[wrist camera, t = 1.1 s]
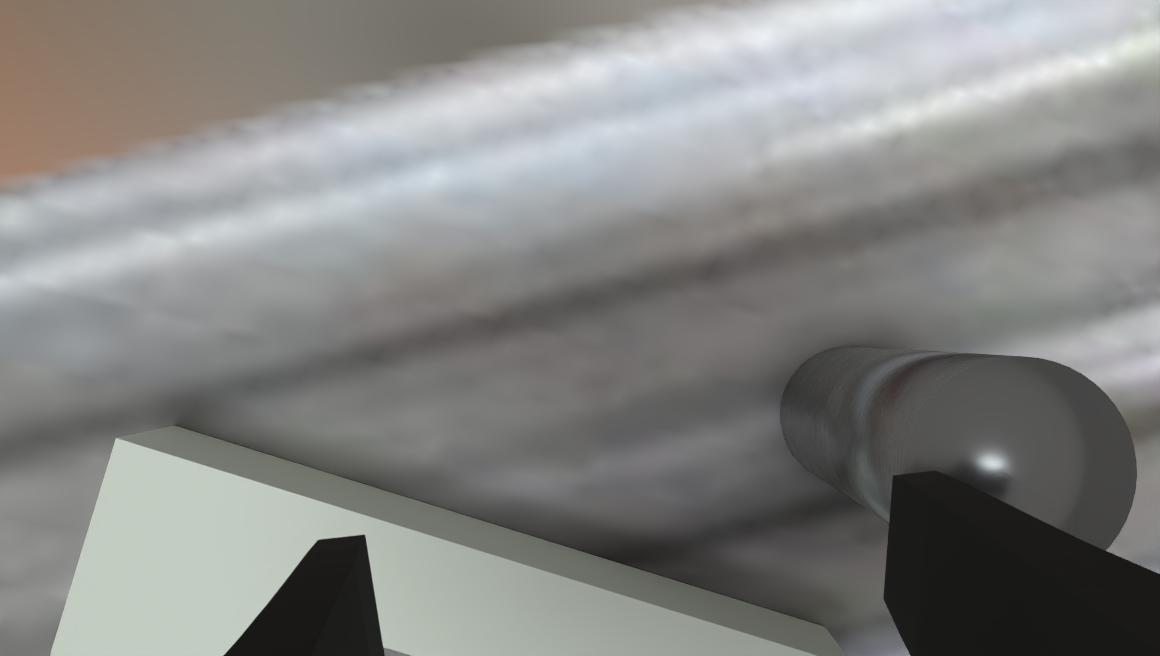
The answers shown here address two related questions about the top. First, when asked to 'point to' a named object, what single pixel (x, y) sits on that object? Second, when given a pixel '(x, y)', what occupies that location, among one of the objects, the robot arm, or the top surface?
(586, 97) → the top surface
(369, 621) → the robot arm
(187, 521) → the hole block
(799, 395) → the peg
